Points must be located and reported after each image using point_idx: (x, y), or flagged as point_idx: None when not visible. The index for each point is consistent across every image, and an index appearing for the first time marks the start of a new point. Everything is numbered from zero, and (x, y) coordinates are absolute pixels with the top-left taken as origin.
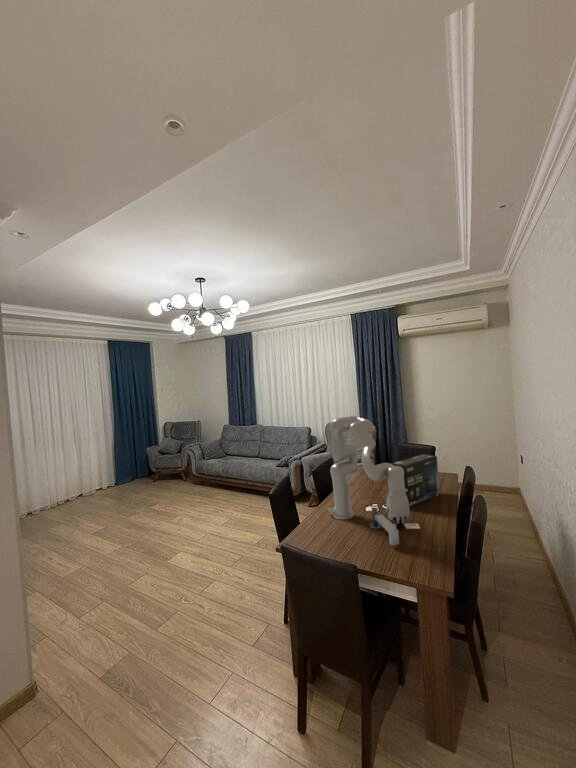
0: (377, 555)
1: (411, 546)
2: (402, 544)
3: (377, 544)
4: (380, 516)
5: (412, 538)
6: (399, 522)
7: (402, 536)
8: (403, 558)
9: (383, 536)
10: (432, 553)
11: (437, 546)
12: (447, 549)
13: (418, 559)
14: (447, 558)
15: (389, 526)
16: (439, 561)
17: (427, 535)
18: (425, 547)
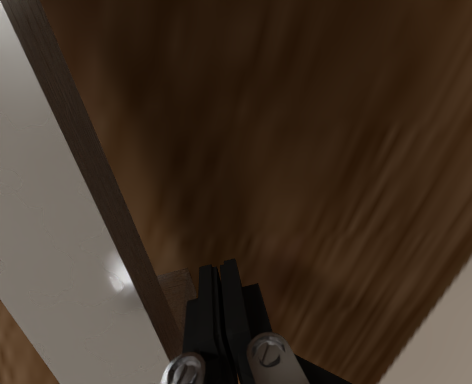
0: None
1: (273, 265)
2: (223, 244)
3: None
4: None
5: (317, 166)
6: (235, 365)
7: (254, 132)
8: None
9: (94, 126)
10: (353, 322)
11: (416, 260)
12: (445, 285)
13: None
14: (396, 352)
15: (93, 362)
16: (350, 374)
17: (439, 123)
18: (347, 272)
